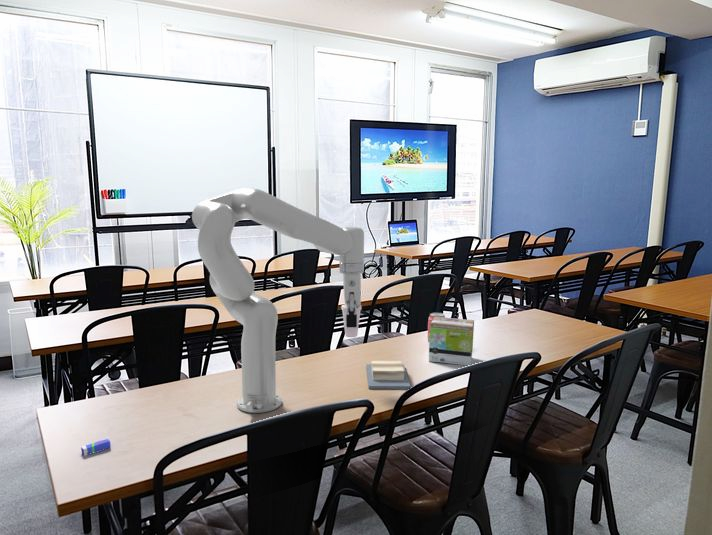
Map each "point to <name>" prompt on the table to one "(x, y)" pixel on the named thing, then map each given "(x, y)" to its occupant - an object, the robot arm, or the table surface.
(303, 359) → the table surface
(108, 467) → the table surface
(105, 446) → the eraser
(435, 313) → the soda can
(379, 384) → the board
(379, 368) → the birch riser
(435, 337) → the tea box
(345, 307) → the smoothie
